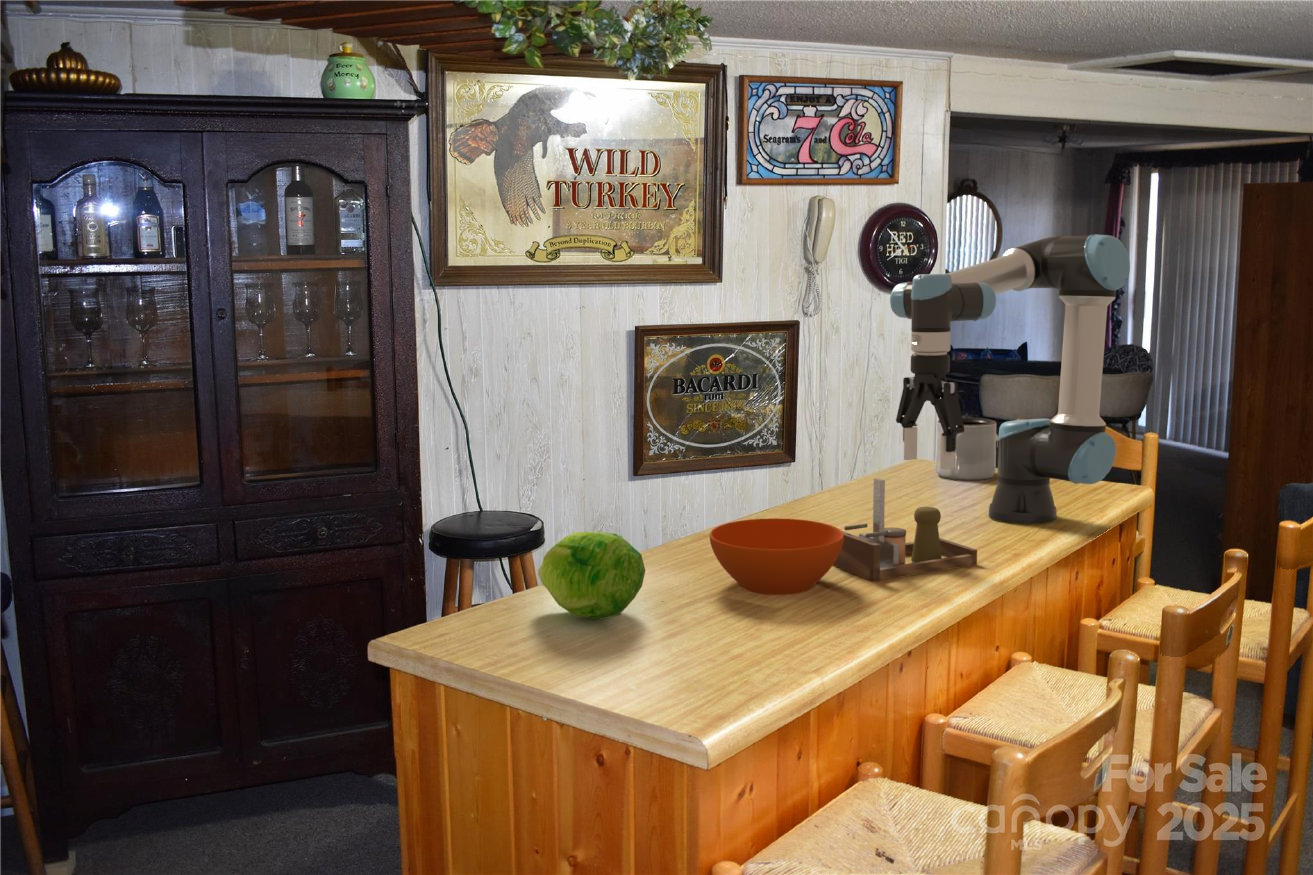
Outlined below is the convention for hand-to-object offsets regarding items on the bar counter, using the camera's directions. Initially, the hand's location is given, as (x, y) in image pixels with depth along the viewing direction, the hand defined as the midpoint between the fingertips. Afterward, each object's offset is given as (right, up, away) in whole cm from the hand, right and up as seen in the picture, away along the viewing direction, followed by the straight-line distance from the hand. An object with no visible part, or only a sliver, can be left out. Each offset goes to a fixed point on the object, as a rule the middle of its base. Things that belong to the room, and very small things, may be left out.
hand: (928, 463), depth 229 cm
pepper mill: (0, -20, +3) cm, 20 cm away
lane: (-5, -20, +1) cm, 21 cm away
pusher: (-10, -20, -2) cm, 23 cm away
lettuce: (-66, -26, -28) cm, 76 cm away
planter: (+32, -6, +91) cm, 97 cm away
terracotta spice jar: (-7, -20, -1) cm, 22 cm away
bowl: (-31, -23, -12) cm, 41 cm away
